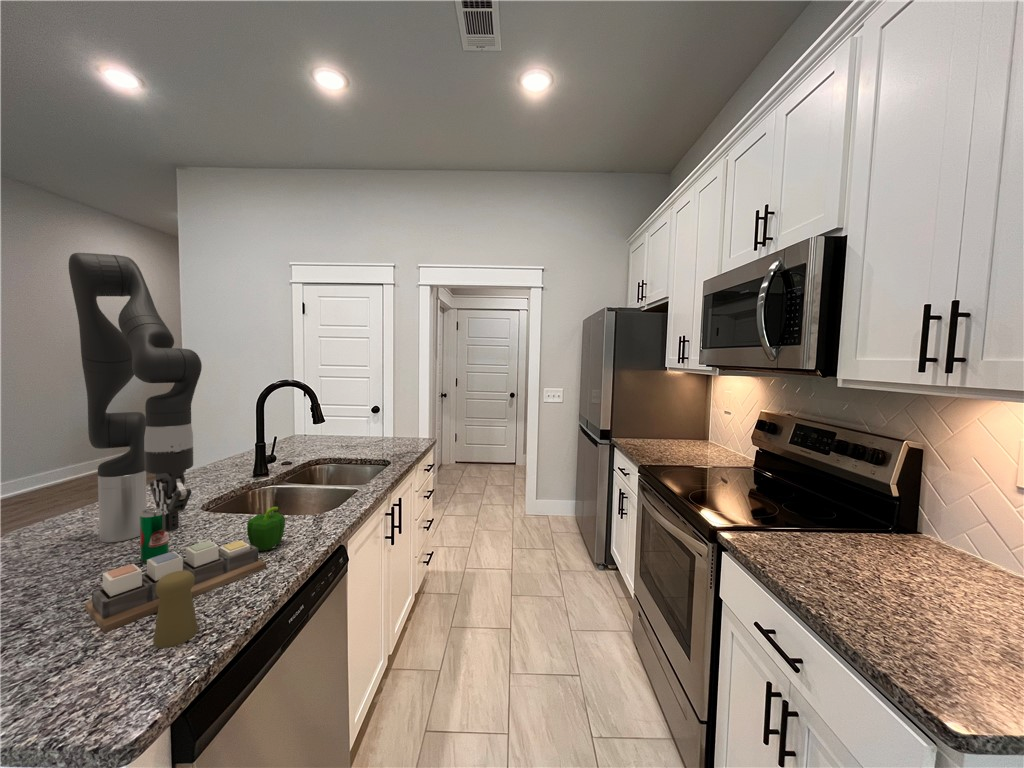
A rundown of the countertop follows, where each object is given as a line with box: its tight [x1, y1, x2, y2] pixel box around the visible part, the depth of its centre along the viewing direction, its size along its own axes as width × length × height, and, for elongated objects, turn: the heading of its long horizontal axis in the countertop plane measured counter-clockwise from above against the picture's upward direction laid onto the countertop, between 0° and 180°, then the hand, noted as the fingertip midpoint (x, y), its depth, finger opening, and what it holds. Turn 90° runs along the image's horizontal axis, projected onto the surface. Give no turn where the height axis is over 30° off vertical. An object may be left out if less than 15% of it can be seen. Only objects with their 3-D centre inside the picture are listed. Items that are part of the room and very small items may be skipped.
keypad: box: [84, 540, 267, 633], centre depth 84 cm, size 12×27×4 cm, turn 148°
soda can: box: [139, 506, 170, 564], centre depth 95 cm, size 5×5×12 cm
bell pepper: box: [246, 506, 286, 552], centre depth 103 cm, size 8×8×10 cm
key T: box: [146, 551, 184, 581], centre depth 81 cm, size 4×4×3 cm
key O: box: [102, 563, 143, 597], centre depth 76 cm, size 4×4×3 cm
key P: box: [219, 540, 250, 557], centre depth 92 cm, size 4×4×3 cm
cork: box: [152, 570, 199, 649], centre depth 69 cm, size 6×6×11 cm
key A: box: [185, 540, 220, 567], centre depth 87 cm, size 4×4×3 cm
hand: (170, 530), depth 82 cm, fingers closed
